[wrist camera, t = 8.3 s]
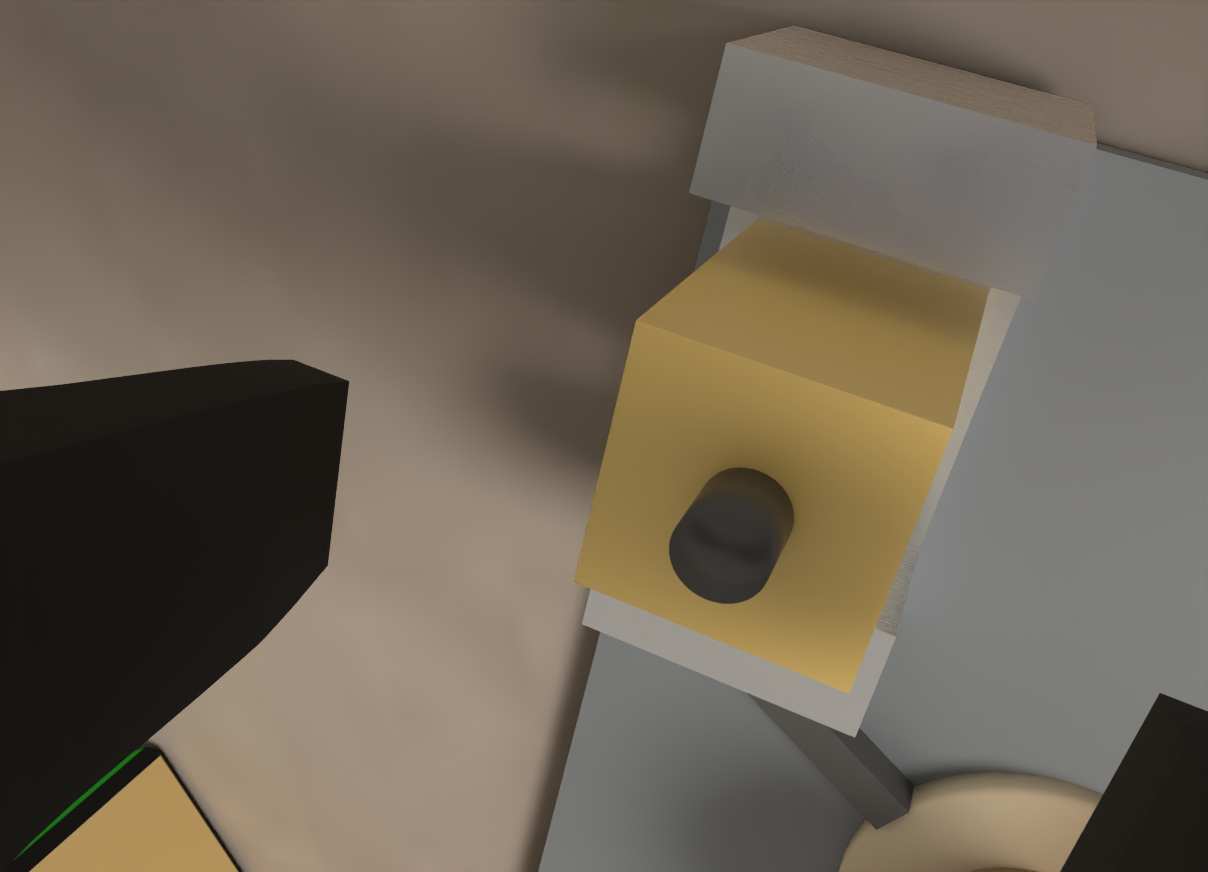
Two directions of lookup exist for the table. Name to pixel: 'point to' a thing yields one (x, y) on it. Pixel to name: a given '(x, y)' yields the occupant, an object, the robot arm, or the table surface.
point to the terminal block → (877, 245)
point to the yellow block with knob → (779, 445)
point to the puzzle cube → (130, 827)
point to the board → (966, 583)
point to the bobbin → (978, 827)
